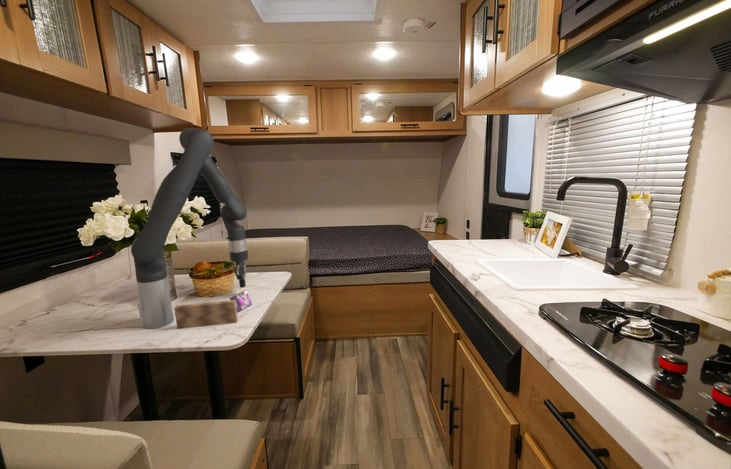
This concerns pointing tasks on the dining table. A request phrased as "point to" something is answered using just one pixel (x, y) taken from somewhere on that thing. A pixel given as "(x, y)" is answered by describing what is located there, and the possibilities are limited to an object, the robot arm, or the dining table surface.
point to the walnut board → (206, 314)
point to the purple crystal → (241, 300)
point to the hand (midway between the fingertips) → (242, 286)
